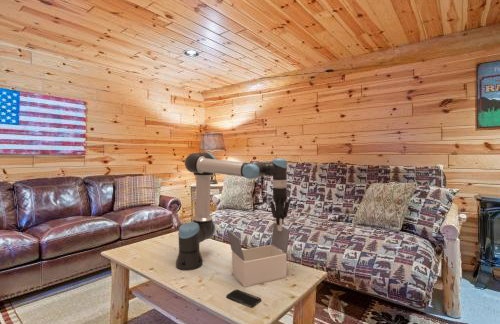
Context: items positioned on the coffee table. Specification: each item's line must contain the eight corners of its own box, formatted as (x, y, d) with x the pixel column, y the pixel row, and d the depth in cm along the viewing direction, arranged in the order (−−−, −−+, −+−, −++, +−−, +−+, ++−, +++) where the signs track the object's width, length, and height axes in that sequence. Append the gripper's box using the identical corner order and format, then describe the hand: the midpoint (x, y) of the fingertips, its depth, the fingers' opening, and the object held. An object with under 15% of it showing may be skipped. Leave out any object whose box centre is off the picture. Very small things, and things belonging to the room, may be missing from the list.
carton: (232, 274, 153) (232, 251, 152) (271, 265, 163) (271, 244, 162) (244, 287, 139) (244, 262, 138) (286, 277, 149) (286, 254, 148)
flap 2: (273, 222, 162) (274, 223, 163) (271, 243, 162) (271, 243, 162) (288, 230, 148) (289, 230, 148) (285, 252, 148) (286, 252, 148)
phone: (236, 289, 136) (262, 298, 127) (236, 291, 136) (262, 301, 127) (225, 296, 129) (251, 306, 120) (225, 298, 129) (251, 309, 120)
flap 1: (232, 250, 152) (231, 250, 152) (227, 229, 150) (226, 229, 150) (244, 260, 138) (243, 261, 138) (239, 238, 136) (238, 238, 136)
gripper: (272, 188, 148) (272, 233, 149) (293, 187, 153) (293, 230, 154) (265, 187, 154) (266, 230, 155) (286, 185, 160) (286, 227, 161)
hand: (279, 230), depth 155 cm, fingers closed
